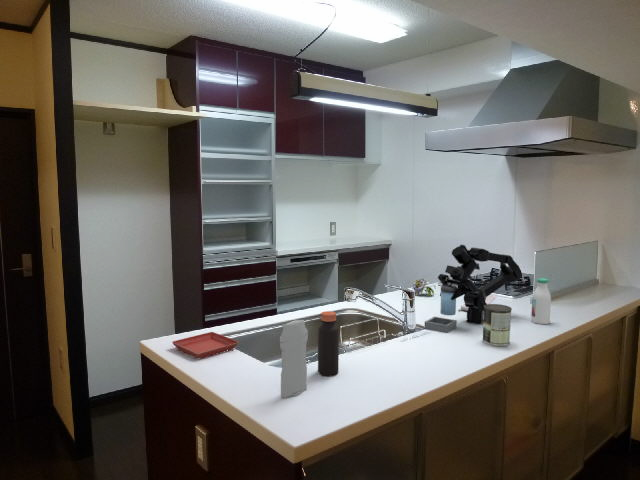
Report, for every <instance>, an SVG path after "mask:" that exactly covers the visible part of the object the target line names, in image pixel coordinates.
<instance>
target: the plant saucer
mask: <svg viewBox="0 0 640 480" xmlns="http://www.w3.org/2000/svg"><path fill="white" fill-rule="evenodd" d="M239 343H240V342H239V341H237V340H234V339H232V338H229V337H227V336H224V335H223V334H219V333H218V332H215V331H214V332H213V331H209V332H205V333H202V334H197V335H192V336H189V337H184V338H181V339H177V340H173V341H172V344H173V346H175V348H176V349H178V350H179V351H181V352H184V353H186V354H187V355H189V354H190V355H189V356H191V357H193V358H196V359H198V358H201V359H204V357H205V358H208V357H210V355H211V356H214V355H213V354H215V355H218V354H220V352H222V353H225V352H228V351H227V350H229V351H232V350H233V349H235V347H236V346H237V345H238V344H239ZM231 349H232V350H231ZM224 351H225V352H224ZM217 353H218V354H217ZM207 356H208V357H207Z"/></svg>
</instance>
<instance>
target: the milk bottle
mask: <svg viewBox="0 0 640 480" xmlns="http://www.w3.org/2000/svg"><path fill="white" fill-rule="evenodd" d="M536 284H537V286H536V288H535V289H534V292H533V294H532V302H531V315H530V316H531V318H530V319H531V322H532V323H533V324H534V323H535V324H537V325H538V324H539V325H548V324H550V322H551V309H552V308H551V306H552V305H551V304H552V295H551V292H550V289H549V287H548V285H549V279H548V278H542V277H541V278H537V280H536Z"/></svg>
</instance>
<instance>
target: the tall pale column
mask: <svg viewBox="0 0 640 480" xmlns="http://www.w3.org/2000/svg"><path fill="white" fill-rule="evenodd" d="M308 337H309V333H308V329H307V328H306V324H305V320H304V319H300V320H298V319H296V320H292V321H290V322H287V323H284V324H283V329H282V333H281V335H280V337H279V349H281V352H280V353H281V372H280V398H281V399H288V398H291V396H292V397H297V396H299V395H301V394H302V393H304V392H306V391H307V388H308V383H307V382H308V378H307V377H308V375H307V374H308V367H307V363H306V362H307V361H306V360H307V357H306V355H307V342H308V339H309V338H308Z"/></svg>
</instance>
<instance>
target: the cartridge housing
mask: <svg viewBox="0 0 640 480" xmlns="http://www.w3.org/2000/svg"><path fill="white" fill-rule="evenodd" d="M457 323H458V320H455V319H450V318H445V317H439V316H432V317H431V318H428V319H427V320H425V321H424V327H423V328H424V329H425V330H431V331H437V332H440V333H441V332H442V333H450V332H451V331H453V330H454V329H456V328H457V325H458V324H457Z"/></svg>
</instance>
